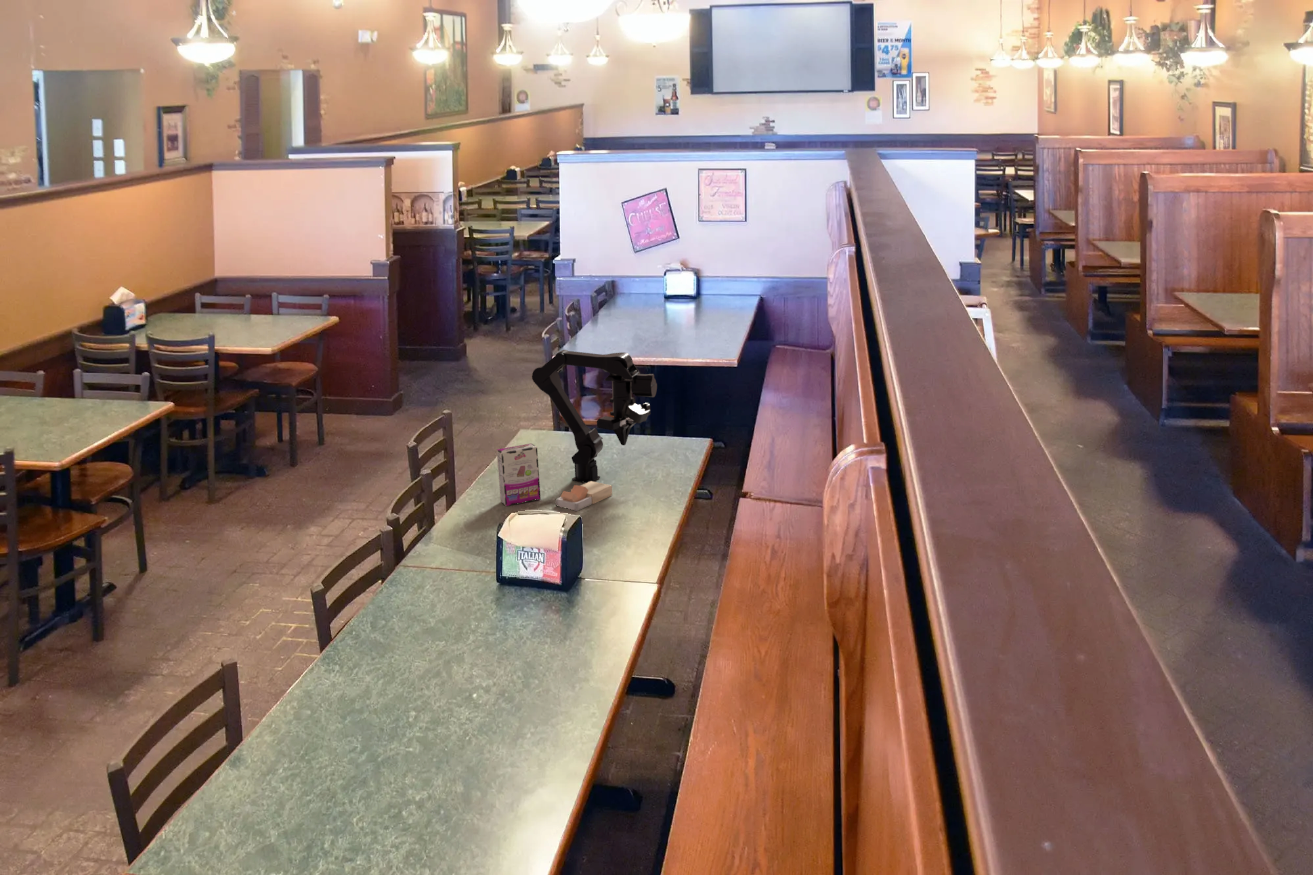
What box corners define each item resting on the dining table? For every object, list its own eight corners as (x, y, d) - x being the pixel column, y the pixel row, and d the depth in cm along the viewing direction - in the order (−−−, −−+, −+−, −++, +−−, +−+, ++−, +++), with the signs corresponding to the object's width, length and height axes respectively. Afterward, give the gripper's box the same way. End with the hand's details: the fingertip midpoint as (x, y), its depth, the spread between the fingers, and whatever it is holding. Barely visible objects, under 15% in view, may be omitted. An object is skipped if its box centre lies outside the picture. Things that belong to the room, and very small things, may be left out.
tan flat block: (571, 499, 337) (570, 489, 336) (591, 490, 344) (590, 481, 343) (592, 504, 332) (592, 494, 332) (612, 495, 340) (611, 485, 339)
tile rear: (572, 499, 334) (568, 496, 332) (577, 487, 335) (574, 484, 334) (583, 502, 332) (579, 498, 330) (588, 490, 333) (585, 486, 331)
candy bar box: (534, 495, 341) (531, 442, 337) (541, 500, 337) (538, 446, 332) (499, 501, 336) (495, 448, 332) (505, 506, 332) (502, 452, 327)
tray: (555, 506, 331) (555, 498, 331) (571, 499, 337) (570, 492, 336) (576, 510, 327) (576, 503, 326) (591, 504, 333) (591, 496, 332)
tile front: (569, 497, 333) (566, 503, 332) (563, 490, 330) (560, 496, 329) (580, 500, 331) (577, 506, 330) (574, 493, 328) (571, 499, 327)
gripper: (624, 405, 332) (626, 456, 336) (661, 392, 346) (662, 441, 350) (594, 400, 338) (596, 451, 342) (632, 387, 352) (633, 436, 357)
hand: (623, 444), depth 348 cm, fingers closed
